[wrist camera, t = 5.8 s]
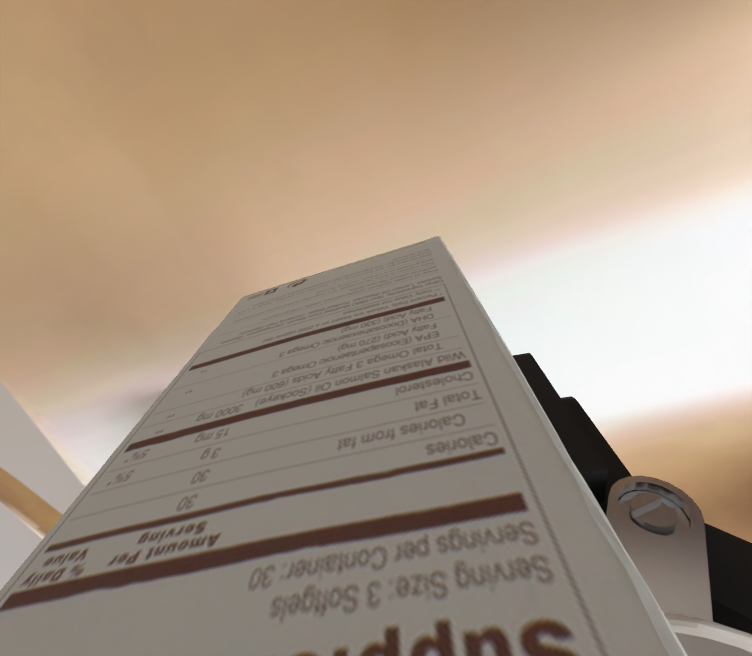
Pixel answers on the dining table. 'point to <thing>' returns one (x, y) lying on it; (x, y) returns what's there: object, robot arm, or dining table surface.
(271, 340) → the supplement box
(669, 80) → the dining table surface
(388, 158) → the dining table surface
